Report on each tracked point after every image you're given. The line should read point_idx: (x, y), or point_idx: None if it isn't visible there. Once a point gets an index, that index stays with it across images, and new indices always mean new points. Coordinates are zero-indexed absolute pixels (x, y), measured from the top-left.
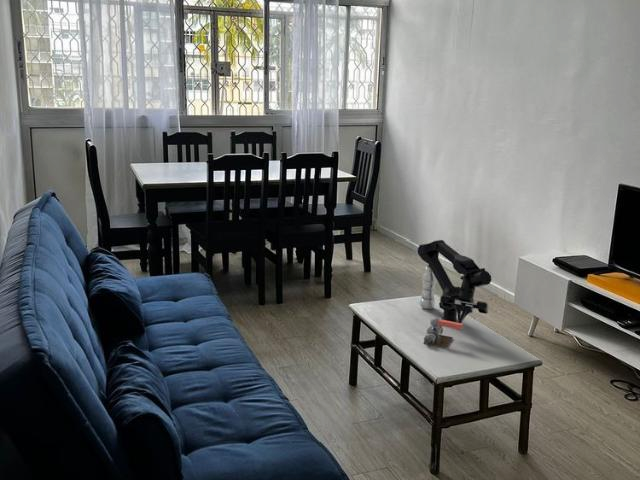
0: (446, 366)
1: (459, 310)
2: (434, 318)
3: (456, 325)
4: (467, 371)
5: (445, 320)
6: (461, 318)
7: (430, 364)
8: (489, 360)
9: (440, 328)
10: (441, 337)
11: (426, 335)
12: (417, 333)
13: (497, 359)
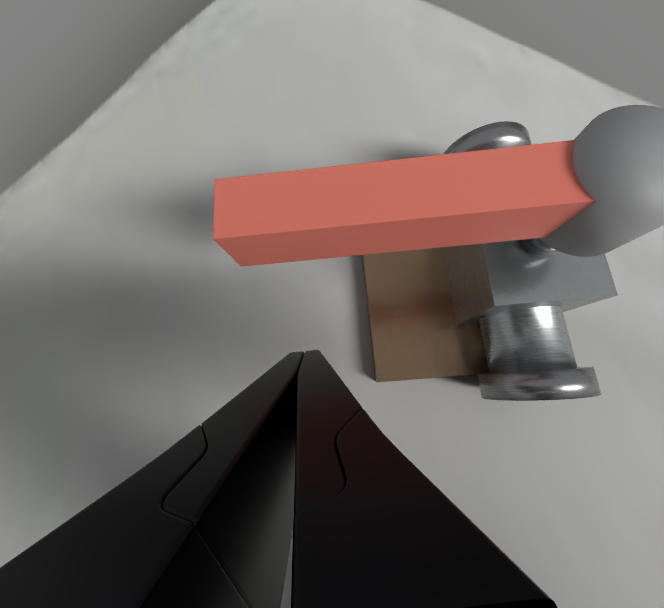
0: (274, 34)
1: (320, 478)
2: (657, 159)
3: (288, 180)
4: (170, 47)
5: (480, 208)
6: (267, 380)
7: (351, 11)
8: (82, 211)
9: (492, 282)
10: (449, 325)
11: (526, 133)
12: (651, 327)
13: (40, 248)
